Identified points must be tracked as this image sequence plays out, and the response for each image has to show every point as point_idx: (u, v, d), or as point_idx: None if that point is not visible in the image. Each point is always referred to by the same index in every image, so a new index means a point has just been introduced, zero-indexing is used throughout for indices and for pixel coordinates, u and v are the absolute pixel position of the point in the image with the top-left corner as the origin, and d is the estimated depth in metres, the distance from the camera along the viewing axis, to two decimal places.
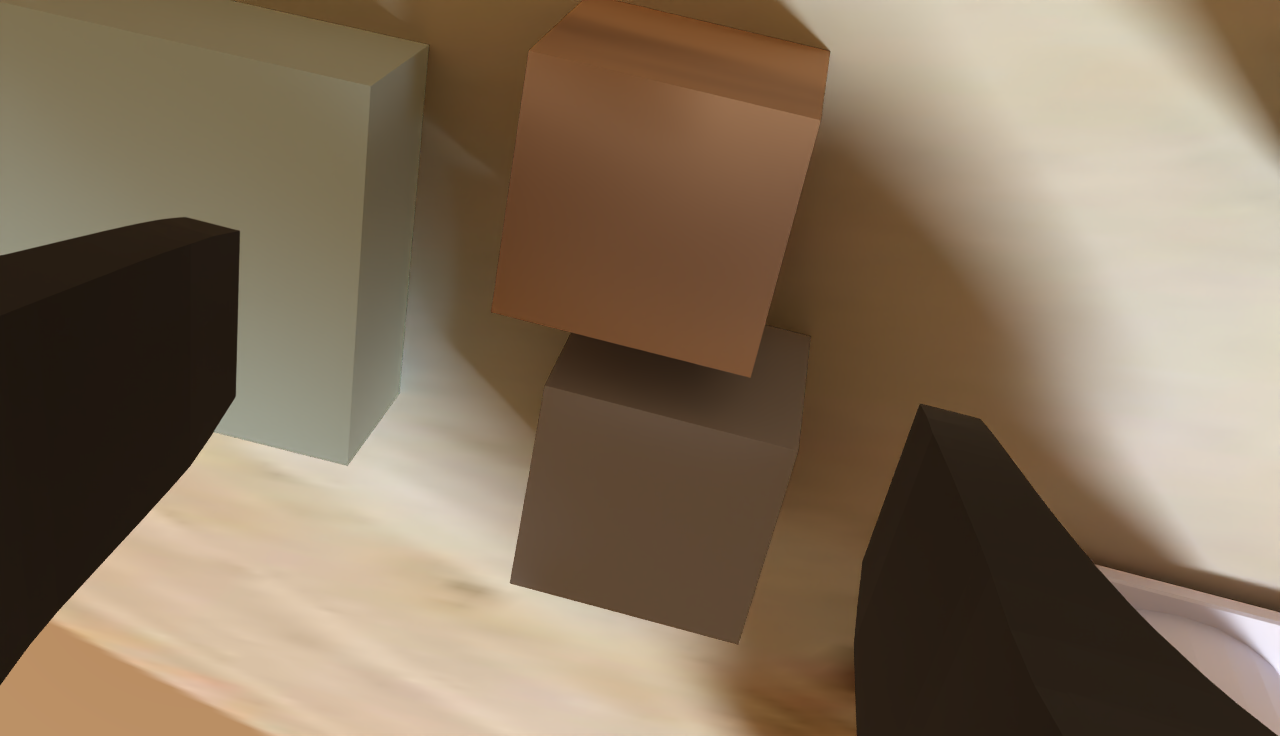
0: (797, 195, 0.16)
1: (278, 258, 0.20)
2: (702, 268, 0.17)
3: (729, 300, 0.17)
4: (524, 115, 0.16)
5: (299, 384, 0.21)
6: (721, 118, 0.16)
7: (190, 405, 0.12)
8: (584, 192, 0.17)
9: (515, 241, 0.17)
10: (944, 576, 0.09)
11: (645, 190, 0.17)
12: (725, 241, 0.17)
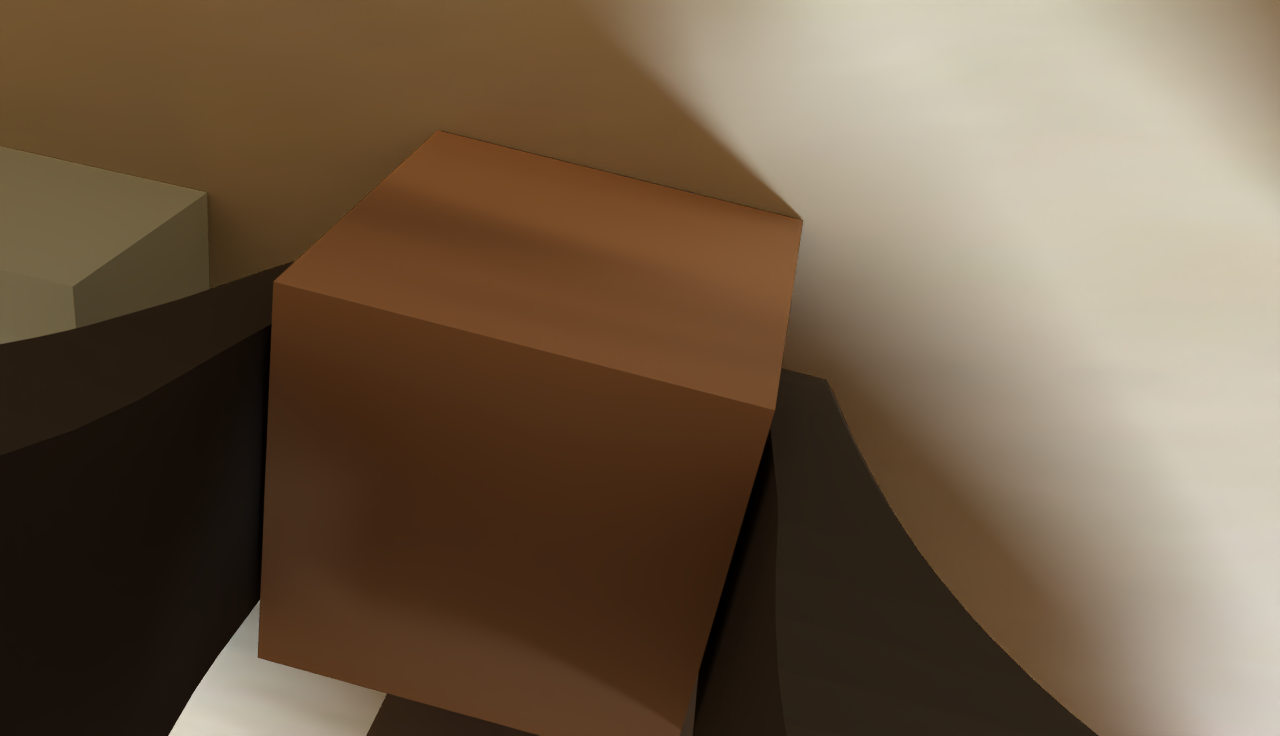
0: (737, 520, 0.10)
1: None
2: (584, 616, 0.10)
3: (632, 664, 0.10)
4: (277, 381, 0.10)
5: None
6: (605, 398, 0.09)
7: None
8: (386, 498, 0.10)
9: (284, 562, 0.11)
10: (756, 526, 0.10)
11: (485, 501, 0.10)
12: (619, 582, 0.10)
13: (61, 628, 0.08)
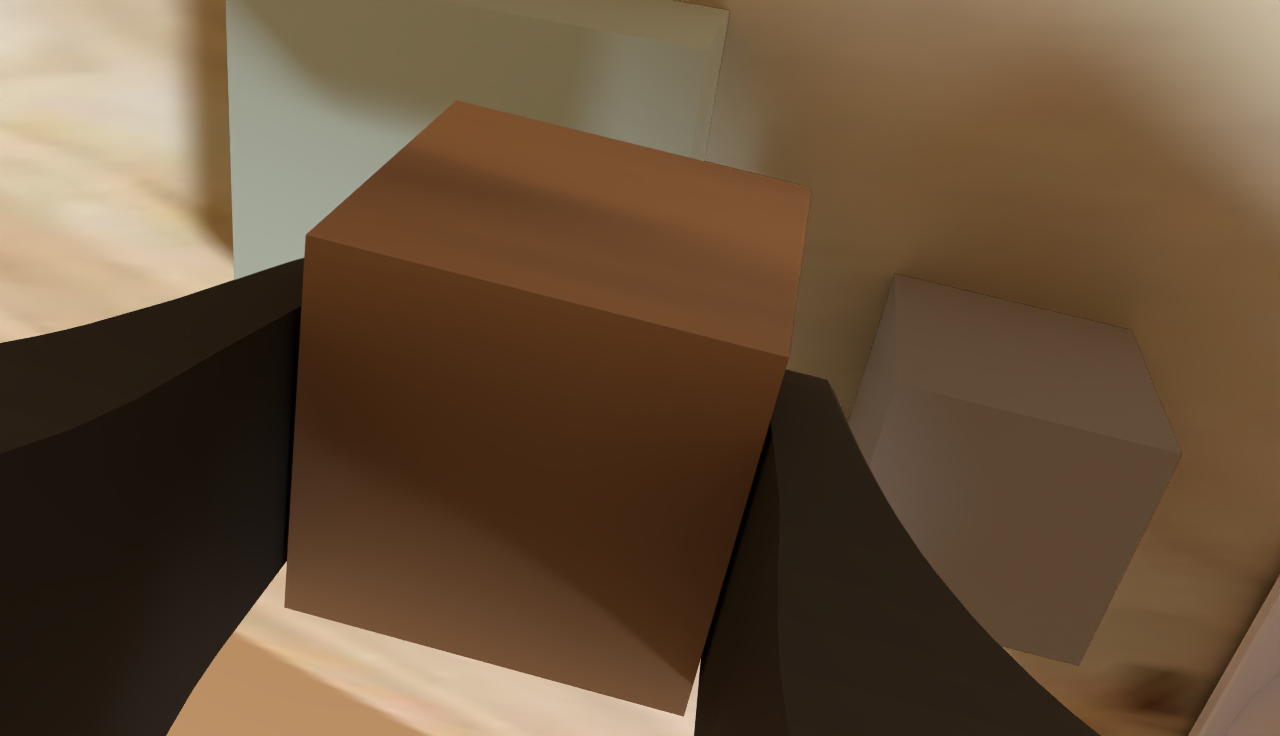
0: (751, 466, 0.10)
1: None
2: (601, 563, 0.11)
3: (647, 610, 0.11)
4: (307, 332, 0.10)
5: None
6: (625, 348, 0.10)
7: None
8: (411, 448, 0.10)
9: (311, 512, 0.11)
10: (757, 527, 0.10)
11: (508, 450, 0.10)
12: (637, 528, 0.10)
13: (58, 627, 0.08)
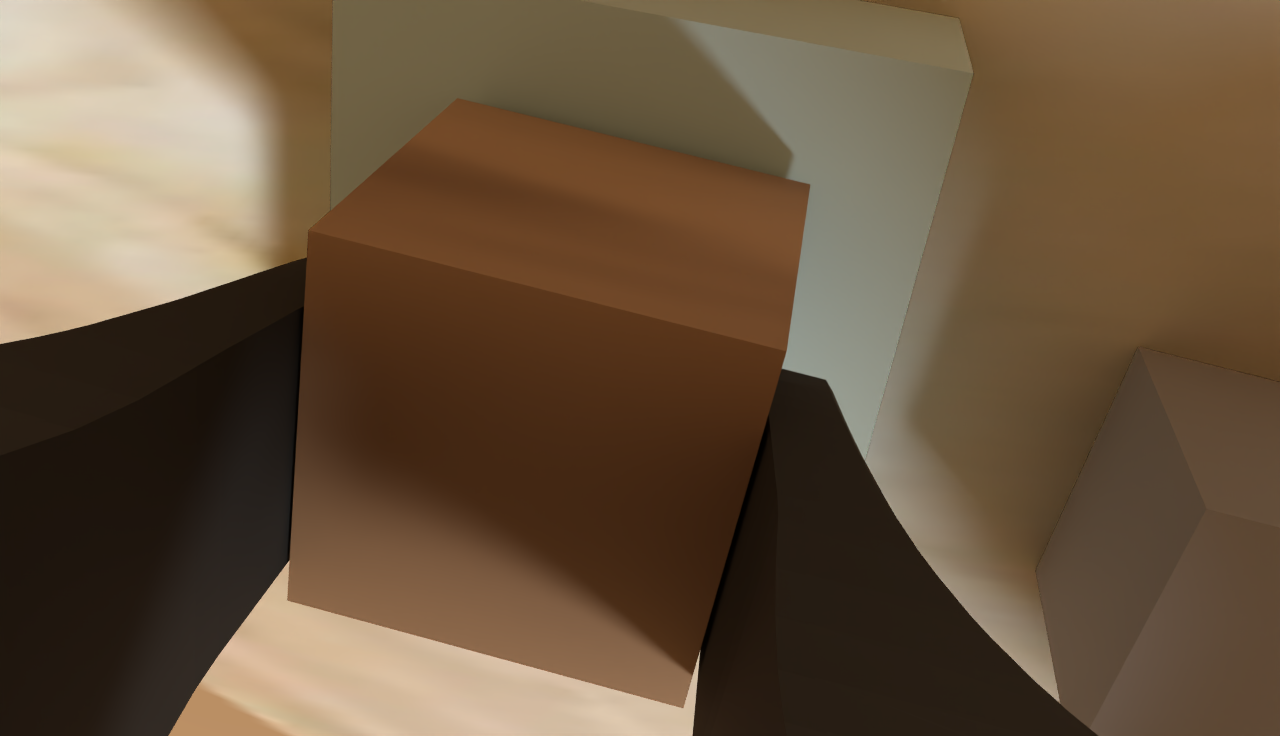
0: (750, 460, 0.10)
1: None
2: (603, 556, 0.11)
3: (647, 602, 0.11)
4: (310, 327, 0.10)
5: None
6: (624, 342, 0.10)
7: None
8: (414, 441, 0.11)
9: (314, 505, 0.11)
10: (756, 526, 0.10)
11: (508, 443, 0.10)
12: (637, 521, 0.11)
13: (61, 628, 0.08)
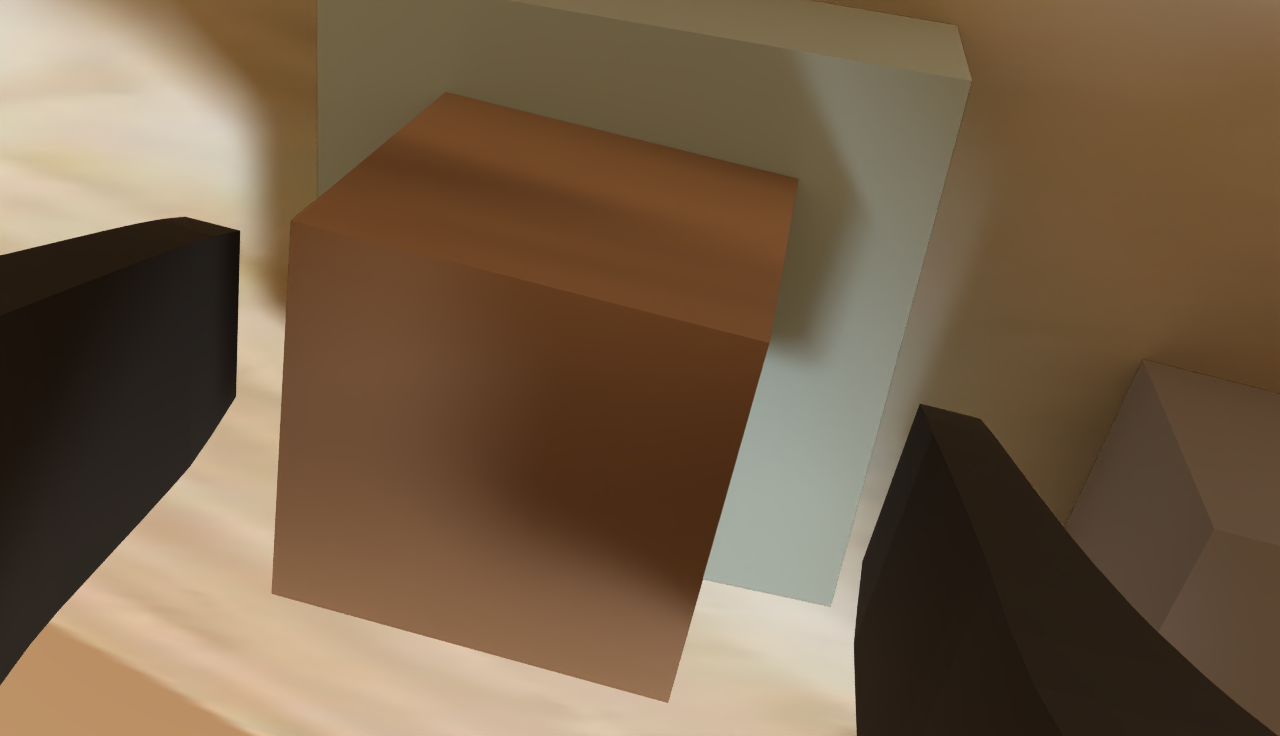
0: (733, 452, 0.10)
1: (778, 332, 0.14)
2: (587, 549, 0.11)
3: (632, 596, 0.11)
4: (293, 318, 0.10)
5: (779, 500, 0.15)
6: (607, 334, 0.10)
7: (190, 405, 0.12)
8: (398, 433, 0.11)
9: (298, 498, 0.11)
10: (944, 576, 0.09)
11: (492, 436, 0.10)
12: (621, 514, 0.11)
13: None
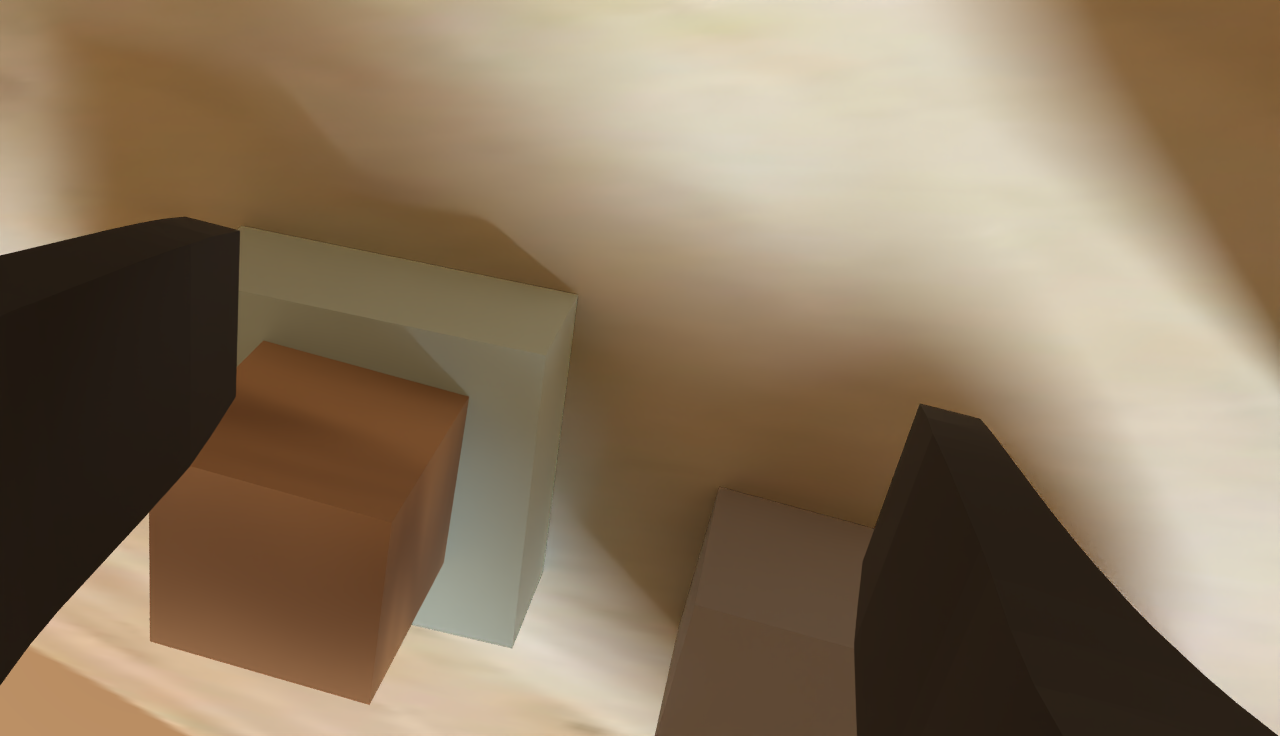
0: (383, 574, 0.19)
1: (459, 486, 0.23)
2: (315, 621, 0.20)
3: (342, 646, 0.20)
4: None
5: (472, 583, 0.24)
6: (312, 514, 0.19)
7: (190, 405, 0.12)
8: (211, 559, 0.20)
9: (161, 590, 0.20)
10: (944, 576, 0.09)
11: (260, 562, 0.19)
12: (331, 603, 0.20)
13: None
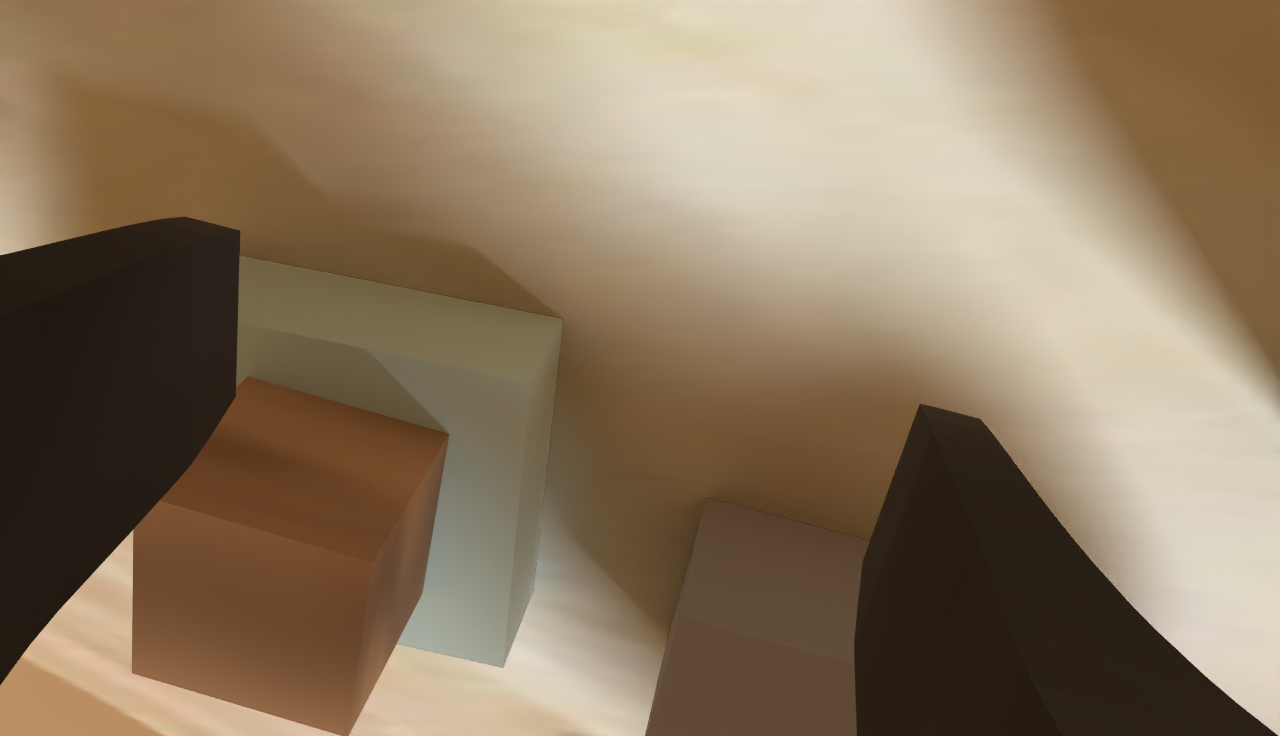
0: (362, 612, 0.20)
1: (448, 509, 0.23)
2: (295, 656, 0.20)
3: (322, 681, 0.20)
4: (137, 538, 0.20)
5: (463, 604, 0.24)
6: (294, 554, 0.19)
7: (190, 405, 0.12)
8: (193, 595, 0.20)
9: (144, 624, 0.21)
10: (944, 576, 0.09)
11: (242, 598, 0.20)
12: (311, 640, 0.20)
13: None
